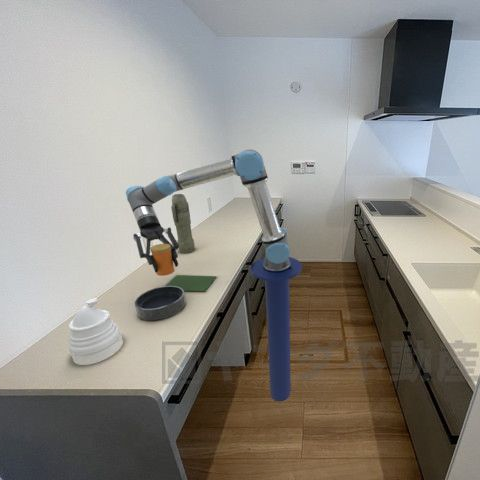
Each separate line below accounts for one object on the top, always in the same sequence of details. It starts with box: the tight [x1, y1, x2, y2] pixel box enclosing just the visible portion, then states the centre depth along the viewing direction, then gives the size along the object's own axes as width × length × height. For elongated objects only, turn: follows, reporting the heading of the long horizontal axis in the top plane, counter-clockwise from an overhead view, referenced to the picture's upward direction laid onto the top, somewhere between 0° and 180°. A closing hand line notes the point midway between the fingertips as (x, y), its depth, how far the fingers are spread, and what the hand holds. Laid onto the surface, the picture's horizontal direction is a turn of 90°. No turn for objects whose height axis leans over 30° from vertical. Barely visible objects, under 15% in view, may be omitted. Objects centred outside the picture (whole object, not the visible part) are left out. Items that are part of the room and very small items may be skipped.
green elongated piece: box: [170, 193, 196, 255], centre depth 157 cm, size 9×12×35 cm
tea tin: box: [150, 243, 176, 277], centre depth 106 cm, size 7×7×11 cm
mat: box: [165, 274, 217, 293], centre depth 126 cm, size 20×14×1 cm
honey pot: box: [67, 297, 124, 366], centre depth 83 cm, size 13×13×18 cm
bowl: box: [134, 285, 187, 321], centre depth 107 cm, size 17×17×6 cm
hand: (167, 268), depth 104 cm, fingers closed on tea tin, 7 cm apart
